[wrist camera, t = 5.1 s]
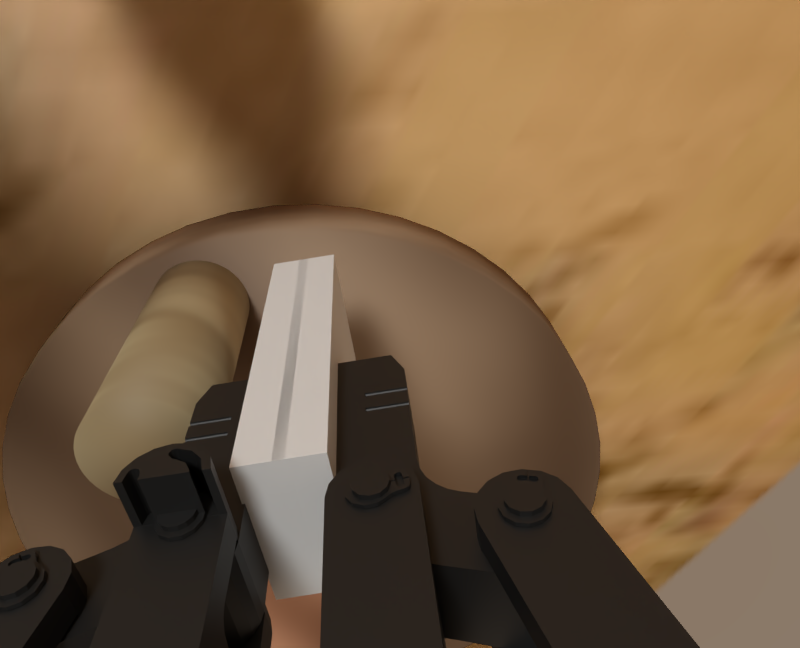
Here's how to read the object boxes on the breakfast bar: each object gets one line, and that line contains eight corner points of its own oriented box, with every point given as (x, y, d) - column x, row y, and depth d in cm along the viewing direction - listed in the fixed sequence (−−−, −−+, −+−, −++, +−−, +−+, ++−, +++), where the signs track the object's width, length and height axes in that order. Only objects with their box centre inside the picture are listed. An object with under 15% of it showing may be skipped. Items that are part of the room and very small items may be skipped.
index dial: (197, 686, 28) (151, 933, 21) (-101, 332, 19) (-354, 548, 12) (621, 557, 26) (726, 776, 19) (504, 107, 18) (616, 206, 11)
